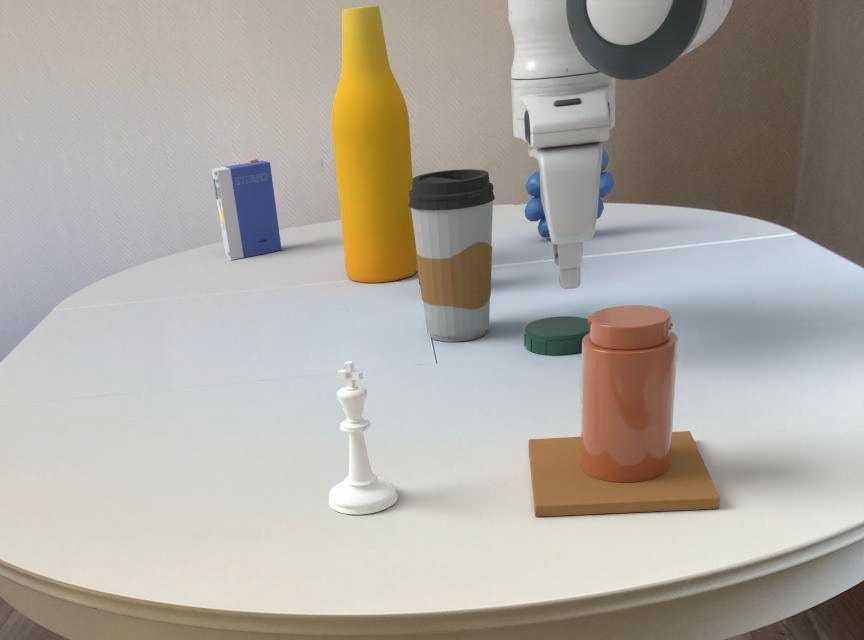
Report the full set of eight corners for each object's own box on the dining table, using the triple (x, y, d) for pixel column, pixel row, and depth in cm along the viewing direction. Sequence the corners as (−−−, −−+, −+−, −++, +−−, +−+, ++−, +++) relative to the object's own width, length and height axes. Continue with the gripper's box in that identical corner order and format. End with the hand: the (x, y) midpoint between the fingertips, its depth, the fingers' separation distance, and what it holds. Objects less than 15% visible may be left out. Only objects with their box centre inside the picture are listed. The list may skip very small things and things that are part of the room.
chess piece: (376, 519, 73) (362, 377, 67) (316, 509, 75) (297, 371, 69) (409, 490, 76) (398, 353, 71) (351, 482, 78) (336, 348, 73)
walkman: (274, 247, 153) (262, 157, 147) (281, 250, 151) (269, 159, 145) (223, 257, 150) (208, 166, 144) (230, 260, 148) (215, 168, 142)
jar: (663, 446, 77) (671, 300, 71) (676, 480, 72) (686, 325, 66) (576, 450, 78) (578, 306, 72) (584, 485, 72) (586, 332, 67)
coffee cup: (463, 317, 113) (456, 166, 105) (515, 330, 107) (512, 171, 99) (401, 335, 109) (389, 180, 102) (452, 350, 104) (443, 187, 96)
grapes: (608, 228, 145) (610, 132, 138) (615, 238, 139) (618, 138, 133) (522, 235, 146) (521, 139, 139) (526, 245, 140) (524, 146, 134)
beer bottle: (335, 284, 131) (306, 13, 116) (360, 265, 138) (336, 9, 123) (406, 283, 128) (386, 5, 113) (428, 264, 135) (412, 1, 120)
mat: (689, 440, 79) (690, 430, 79) (719, 508, 69) (720, 497, 69) (528, 448, 81) (528, 439, 80) (535, 517, 71) (535, 506, 70)
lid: (519, 355, 101) (519, 336, 100) (531, 334, 106) (531, 316, 105) (590, 355, 99) (590, 336, 98) (598, 334, 104) (598, 315, 103)
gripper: (523, 102, 101) (528, 253, 108) (531, 128, 83) (536, 305, 91) (590, 95, 100) (591, 247, 107) (612, 119, 83) (611, 299, 90)
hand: (566, 274), depth 99 cm, fingers open, 8 cm apart
